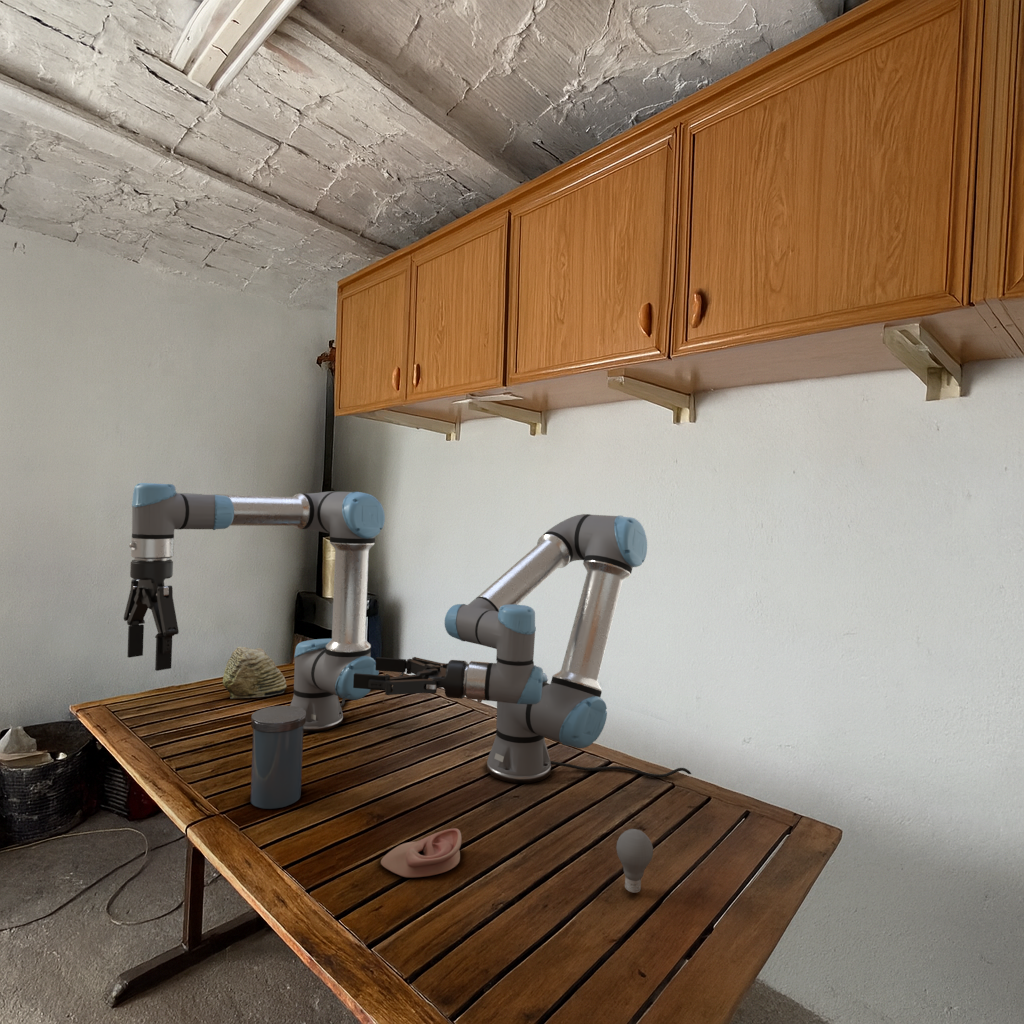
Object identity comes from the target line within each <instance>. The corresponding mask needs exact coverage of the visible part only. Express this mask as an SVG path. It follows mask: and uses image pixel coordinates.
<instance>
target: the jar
mask: <svg viewBox="0 0 1024 1024" xmlns="http://www.w3.org/2000/svg"><path fill="white" fill-rule="evenodd" d="M303 729H304V725H303V726H301V727H299V728H297V729H294V730H290V731H284V732H261V731H257V730H255V729H253V728H252V748H251V775H250V804H252V805H253V806H254V807H256V808H258V809H265V810H272V809H281V808H284V807H287V806H291V805H293V804H295V803H297V802H298V801H299V800H300V799H301V796H302V781H303V753H304V732H303Z"/></svg>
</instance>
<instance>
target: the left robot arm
mask: <svg viewBox="0 0 1024 1024" xmlns="http://www.w3.org/2000/svg"><path fill="white" fill-rule="evenodd" d="M385 515H386V513H385V511H384V508H383V505H382V503H381V502H380V501H379V500H378V498H377V497H375V495H373V494H370V493H367V492H363V491H362V492H361V491H337V490H336V491H335V490H333V491H332V490H330V491H321V492H311V493H295V494H294V495H293V496H276V495H275V496H274V495H273V496H272V495H248V494H247V495H246V494H244V495H243V494H220V493H219V494H218V493H217V494H216V493H215V494H214V493H189V492H187V493H186V492H177V491H176V486H175V485H174V484H173V483H152V482H139V483H137V484H136V485H135V486H134V488H133V492H132V501H131V520H132V521H131V542H130V543H128V547H129V548H130V549H131V550H130V556H131V558H133V559H132V560H131V561H130V567H129V568H130V571H129V574H130V575H129V576H130V578H131V581H130V590H129V594H128V598H127V603H126V607H125V610H124V615H123V621H124V622H126V624H127V626H128V629H127V630H128V631H127V658H135V657H142V656H144V635H145V634H144V630H145V625H144V624H145V623H146V621H145V619H144V618H145V616H146V615H147V612H148V609H149V610H151V613H152V618H153V620H154V624H155V627H156V631H157V633H156V635H155V636H154V638H155V661H154V663H155V665H154V668H155V669H154V670H155V671H157V672H159V671H164V670H169V669H172V659H173V657H172V655H173V637H175V636H176V635H179V632H180V631H179V625H178V619H177V615H176V614H177V613H176V609H175V603H174V597H173V595H174V593H173V585H165V580H167V579H171V578H172V577H173V575H174V573H173V572H174V561H173V560H172V559H171V558H173V557H174V554H175V553H174V552H175V530H213V531H215V530H224V529H228V528H230V526H233V527H234V526H237V527H238V526H240V527H243V526H246V527H247V526H249V527H250V526H258V527H259V526H268V527H269V526H276V527H277V526H282V527H284V526H285V527H286V526H287V527H288V526H289V527H290V526H291V527H293V528H294V529H296V530H308V531H309V530H310V531H316V532H319V533H325V534H329V544H330V545H331V546H332V547H333V548H334V550H335V551H334V572H333V573H334V577H333V599H332V625H331V626H332V627H331V638H317V639H308V640H304V641H300V642H299V643H297V645H296V646H295V650H294V655H293V657H294V672H293V673H294V674H293V695H292V696H293V697H292V699H291V702H290V704H289V706H295V707H300V708H302V709H304V710H305V711H306V722H305V724H304V729H303V733H316V732H325V731H329V730H332V729H335V728H337V727H339V726H340V725H342V723H343V722H344V714H343V709H342V707H344V706H345V704H346V700H348V701H349V700H350V701H357V700H360V699H362V698H364V697H365V696H367V695H368V694H370V692H371V690H372V689H360V688H353V681H354V674H355V673H359V674H371V675H380V671H378V670H376V659H374V657H371V652H372V649H371V648H372V644H371V643H370V642H368V640H367V639H366V631H367V607H368V606H367V605H368V604H367V602H368V582H369V581H368V579H369V555H370V553H369V552H370V550H371V548H372V547H374V545H375V544H376V536H378V535H379V534H380V533H381V530H383V528H384V526H385V522H386V521H385V520H386V516H385ZM401 674H402V675H401ZM404 674H405V673H402V672H400V675H399V676H404ZM339 698H341V702H340V699H339Z"/></svg>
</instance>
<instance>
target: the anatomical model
mask: <svg viewBox="0 0 1024 1024" xmlns="http://www.w3.org/2000/svg"><path fill="white" fill-rule="evenodd" d="M461 846H462V832H461V830H460V829H458V828H455V827H454V828H453V827H452V828H448V829H443V830H440V831H437V832H435V833H433V834H430V835H428V836H426V837H424V838H421V839H419V840H416V841H409V842H404V843H402V844H399V845H397V846H396V847H394V848H392V849H391V850H389V851H388V852H387V853H386V854H385V855H384V856H383V857H382V858H381V860H380V865H381V866H382V867H383V868H384V869H386V870H388V871H390V872H391V873H393V874H395V875H398V876H400V877H402V878H408V879H409V878H423V877H431V876H435V875H439V874H443V873H446V872H449V871H450V870H452V869H454V868H456V867H457V866H458V864H459V863H460V861H461V852H460V849H461Z"/></svg>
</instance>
